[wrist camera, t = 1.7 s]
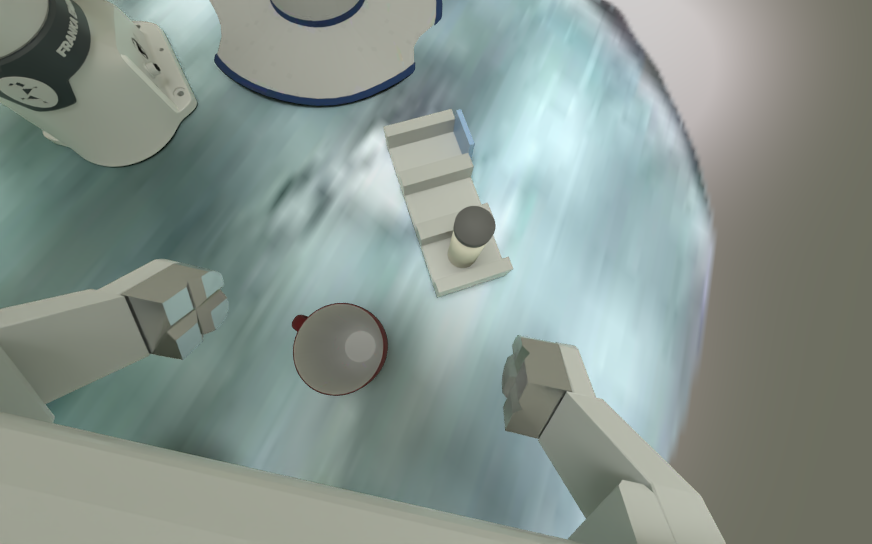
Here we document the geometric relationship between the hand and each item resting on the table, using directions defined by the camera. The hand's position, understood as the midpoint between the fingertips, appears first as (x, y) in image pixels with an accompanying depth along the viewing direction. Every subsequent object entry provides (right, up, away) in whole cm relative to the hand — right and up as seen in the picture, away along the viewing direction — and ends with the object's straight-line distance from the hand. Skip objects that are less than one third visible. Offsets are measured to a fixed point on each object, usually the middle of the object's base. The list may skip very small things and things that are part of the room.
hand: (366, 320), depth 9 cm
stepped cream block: (+3, +10, +33) cm, 35 cm away
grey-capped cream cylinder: (+5, +4, +30) cm, 31 cm away
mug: (-8, -7, +29) cm, 31 cm away
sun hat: (-15, +42, +41) cm, 60 cm away
